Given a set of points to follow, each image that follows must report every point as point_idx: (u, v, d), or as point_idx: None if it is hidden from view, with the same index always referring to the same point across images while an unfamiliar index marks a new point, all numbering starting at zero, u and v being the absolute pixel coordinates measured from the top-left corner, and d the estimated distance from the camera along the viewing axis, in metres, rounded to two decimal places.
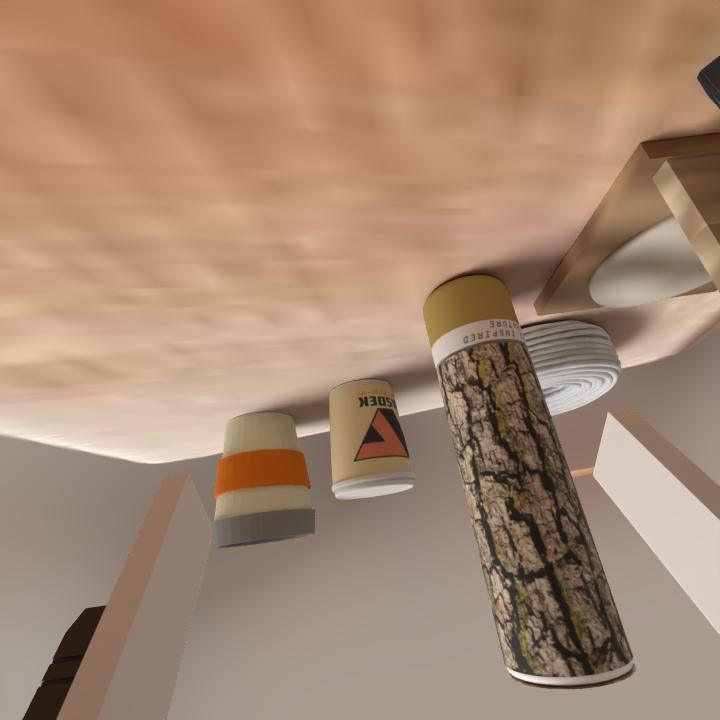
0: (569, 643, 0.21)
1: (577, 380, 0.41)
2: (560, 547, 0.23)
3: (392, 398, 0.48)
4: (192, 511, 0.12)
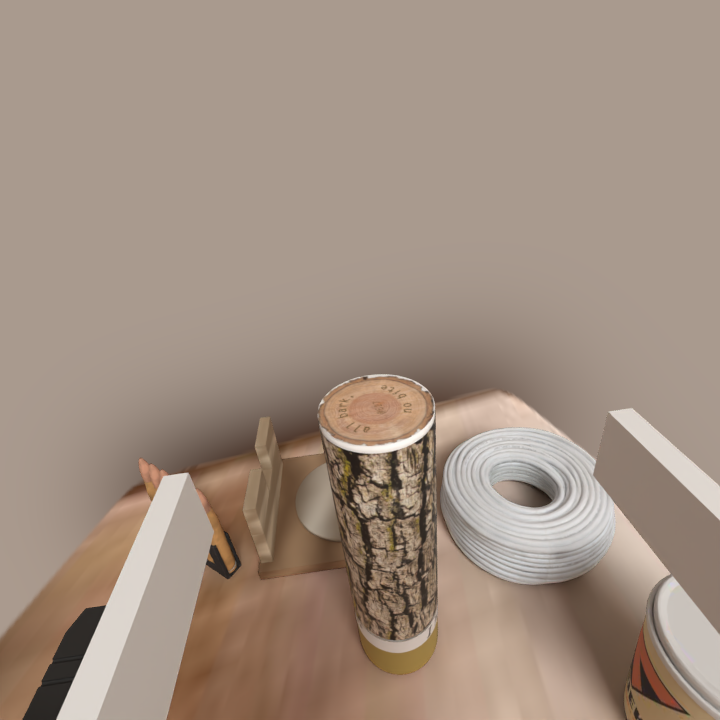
0: (323, 446, 0.24)
1: (471, 469, 0.45)
2: None
3: None
4: (192, 511, 0.12)
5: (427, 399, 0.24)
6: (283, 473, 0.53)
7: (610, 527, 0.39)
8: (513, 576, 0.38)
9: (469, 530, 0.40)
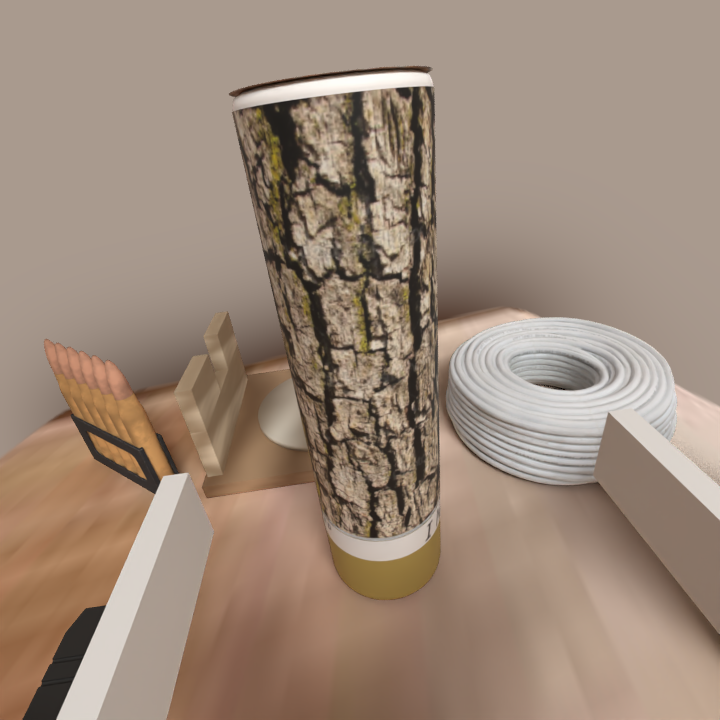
0: (243, 158, 0.14)
1: (486, 357, 0.35)
2: None
3: None
4: (192, 511, 0.12)
5: None
6: (247, 388, 0.43)
7: (674, 409, 0.29)
8: (546, 474, 0.28)
9: (485, 420, 0.30)
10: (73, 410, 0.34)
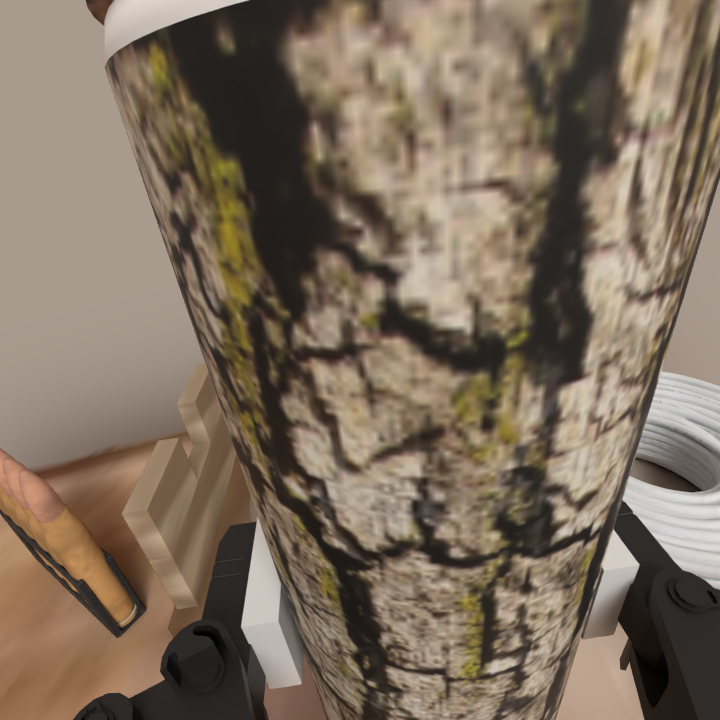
0: None
1: None
2: None
3: None
4: None
5: None
6: None
7: None
8: None
9: None
10: (0, 507, 0.25)
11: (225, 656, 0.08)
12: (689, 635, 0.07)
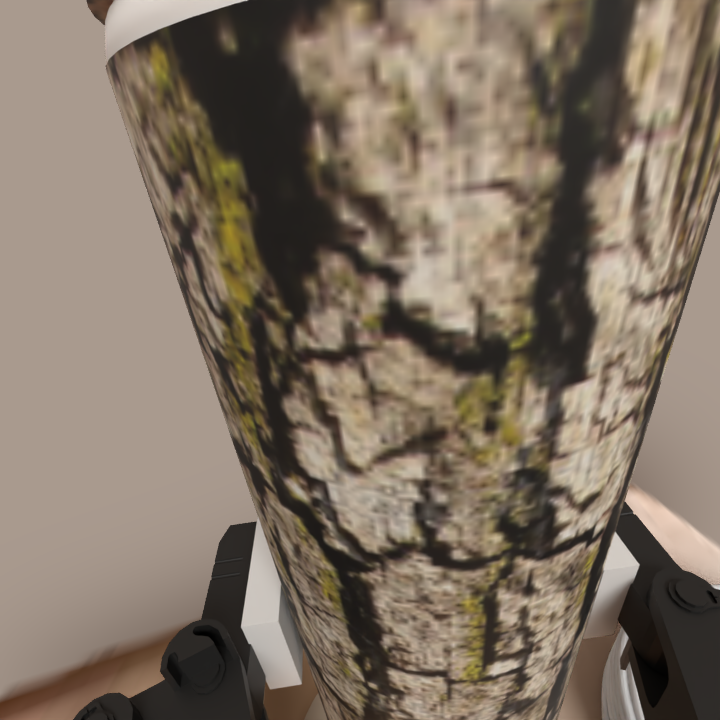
0: None
1: None
2: None
3: None
4: None
5: None
6: None
7: None
8: None
9: None
10: None
11: (225, 656, 0.08)
12: (689, 635, 0.07)
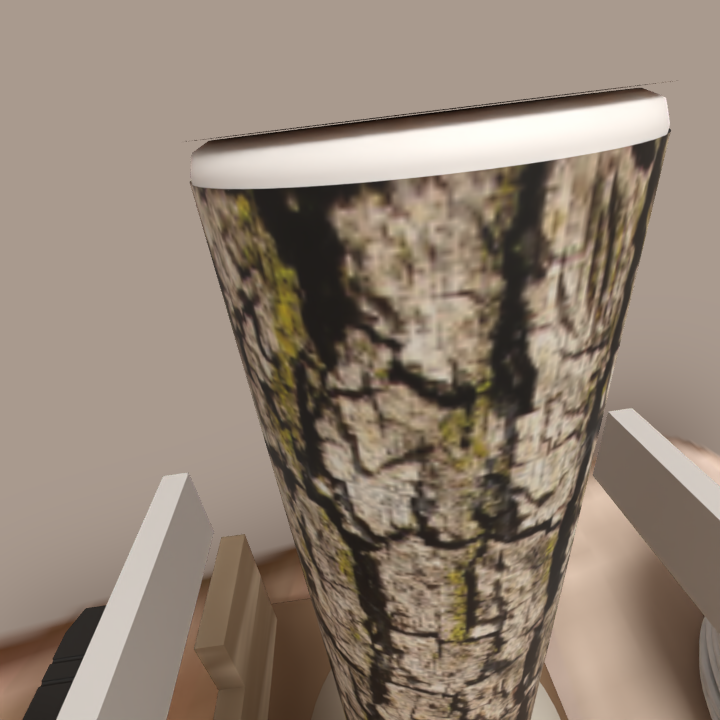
0: None
1: None
2: None
3: None
4: (192, 511, 0.12)
5: None
6: (277, 649, 0.24)
7: None
8: None
9: None
10: None
11: None
12: None
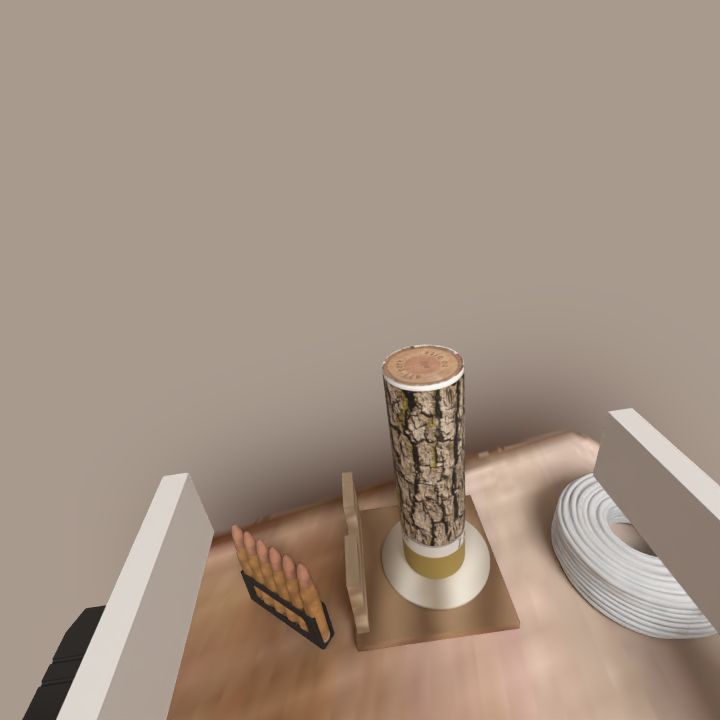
0: (386, 392, 0.35)
1: (588, 514, 0.45)
2: None
3: None
4: (192, 511, 0.12)
5: (458, 358, 0.34)
6: (362, 527, 0.52)
7: None
8: (650, 630, 0.38)
9: (598, 580, 0.40)
10: (245, 570, 0.43)
11: None
12: None
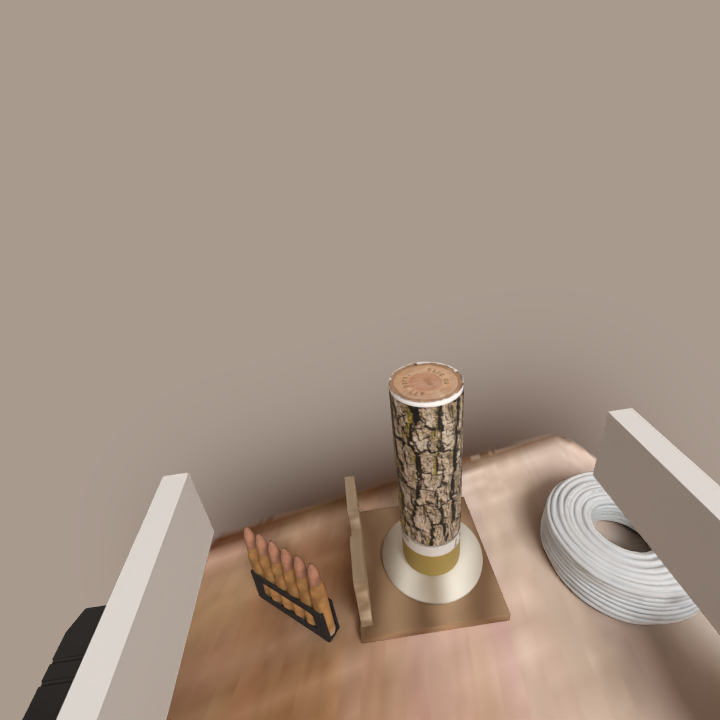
0: (392, 406, 0.38)
1: (574, 513, 0.49)
2: (393, 436, 0.41)
3: None
4: (192, 511, 0.12)
5: (458, 376, 0.38)
6: (363, 528, 0.55)
7: None
8: (628, 617, 0.42)
9: (583, 573, 0.44)
10: (255, 570, 0.46)
11: None
12: None
